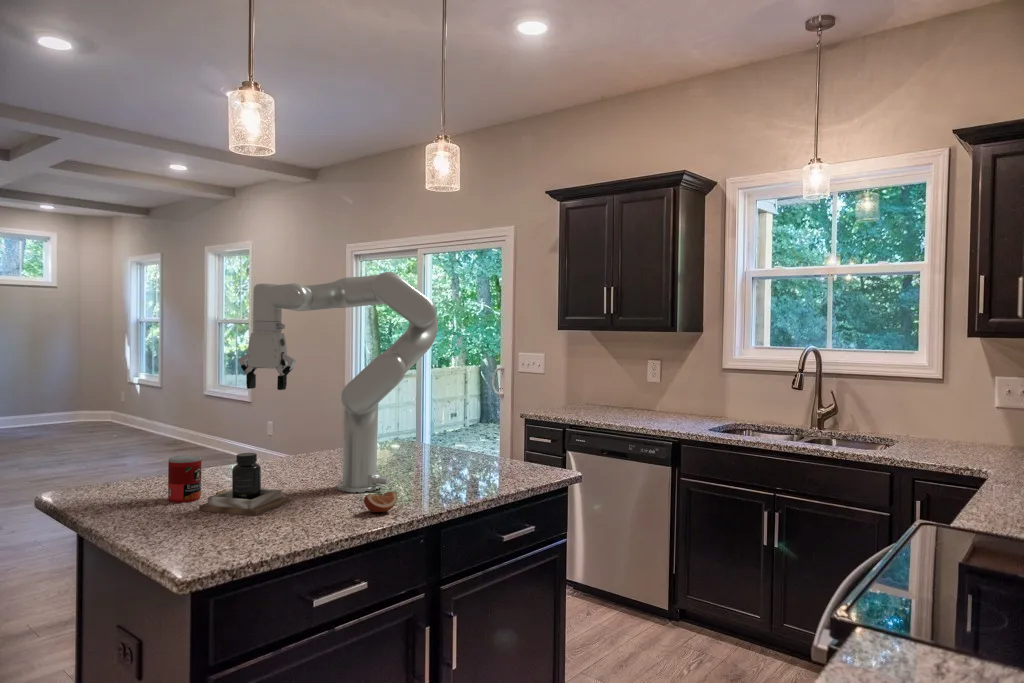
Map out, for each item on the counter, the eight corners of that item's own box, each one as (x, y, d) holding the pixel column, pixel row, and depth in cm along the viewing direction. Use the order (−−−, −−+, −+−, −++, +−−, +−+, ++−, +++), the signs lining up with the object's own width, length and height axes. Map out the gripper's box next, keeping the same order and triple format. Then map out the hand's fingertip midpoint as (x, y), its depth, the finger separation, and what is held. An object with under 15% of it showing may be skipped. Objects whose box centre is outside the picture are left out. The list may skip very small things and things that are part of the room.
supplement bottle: (237, 498, 172) (237, 451, 172) (264, 497, 173) (264, 451, 173) (228, 504, 165) (228, 456, 165) (256, 504, 166) (256, 456, 166)
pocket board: (289, 502, 174) (289, 489, 174) (256, 515, 160) (256, 502, 160) (235, 497, 178) (235, 485, 178) (199, 510, 164) (199, 497, 164)
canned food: (188, 504, 170) (188, 461, 170) (160, 502, 172) (161, 459, 171) (207, 497, 177) (208, 456, 177) (181, 495, 179) (181, 454, 179)
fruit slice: (389, 507, 171) (390, 487, 171) (402, 513, 165) (403, 493, 165) (359, 512, 165) (360, 492, 165) (372, 518, 160) (372, 497, 160)
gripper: (302, 328, 188) (301, 389, 188) (248, 327, 192) (247, 387, 192) (287, 328, 181) (286, 391, 181) (231, 327, 185) (230, 388, 185)
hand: (266, 389), depth 187 cm, fingers open, 9 cm apart
